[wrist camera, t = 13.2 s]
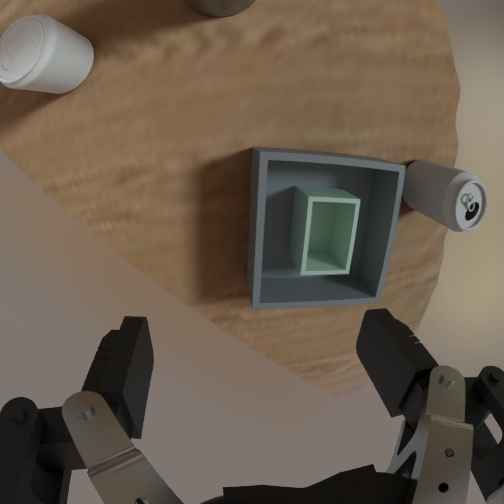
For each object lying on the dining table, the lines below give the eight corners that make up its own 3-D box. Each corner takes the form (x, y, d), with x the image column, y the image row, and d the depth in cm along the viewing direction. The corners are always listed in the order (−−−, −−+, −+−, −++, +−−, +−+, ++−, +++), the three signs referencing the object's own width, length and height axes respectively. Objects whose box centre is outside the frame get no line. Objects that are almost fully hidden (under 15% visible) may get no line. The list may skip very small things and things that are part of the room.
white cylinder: (106, 63, 28) (63, 42, 17) (59, 106, 29) (5, 104, 18) (79, 24, 25) (34, -4, 14) (34, 66, 26) (-20, 55, 15)
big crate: (252, 147, 35) (260, 151, 28) (377, 158, 37) (405, 165, 30) (246, 280, 41) (252, 309, 35) (358, 277, 43) (379, 302, 37)
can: (411, 218, 41) (462, 249, 30) (389, 178, 38) (444, 200, 27) (442, 188, 39) (497, 211, 28) (423, 148, 37) (481, 162, 26)
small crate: (294, 185, 36) (308, 196, 31) (340, 188, 37) (360, 199, 31) (288, 254, 40) (300, 275, 34) (331, 253, 40) (348, 273, 35)
